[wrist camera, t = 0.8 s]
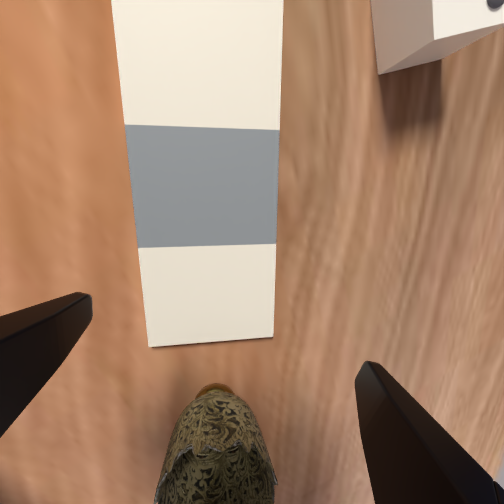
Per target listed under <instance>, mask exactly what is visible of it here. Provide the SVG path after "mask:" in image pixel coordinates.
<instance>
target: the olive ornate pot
mask: <svg viewBox="0 0 504 504" xmlns="http://www.w3.org/2000/svg"><path fill="white" fill-rule="evenodd" d="M275 485H278V483H277V479H276V476H275V473H274V469H273V466H272V463H271V460H270V457H269V454H268V451H267V448H266V445H265V442H264V439H263V436H262V433H261V431H260V428H259V425H258V423H257V420H256V418H255V416H254V414H253V412H252V411H251V409H250V408H249V406H248V405H247V404H246V403H245V402H244V401H243V400H242V399H240V398H239V397H237V396H236V395H235V394H234V393H233V391H232V390H231V389H230V388H229V387H228V386H226V385H223V384H210V385H208V386H206V387H204V388H203V389H202V390H201V391H200V392H199V393H198V394H197V396H196V398H195V400H194V401H192V402H191V403H190V404H189V405H188V406H187V407H186V408H185V409H184V411H183V412H182V414H181V415H180V417H179V419H178V421H177V423H176V425H175V428H174V430H173V433H172V436H171V439H170V442H169V446H168V449H167V453H166V456H165V460H164V464H163V467H162V471H161V475H160V479H159V482H158V486H157V488H156V490H157V491H156V494H155V499H154V504H156V503H157V502H158V504H274V486H275Z"/></svg>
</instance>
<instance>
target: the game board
mask: <svg viewBox="0 0 504 504" xmlns="http://www.w3.org/2000/svg"><path fill="white" fill-rule="evenodd" d="M111 2H112V11H113V21H114V30H115V39H116V48H117V58H118V67H119V76H120V85H121V95H122V104H123V113H124V123H125V132H126V141H127V150H128V160H129V169H130V178H131V188H132V197H133V206H134V215H135V225H136V234H137V243H138V252H139V262H140V271H141V280H142V290H143V299H144V308H145V317H146V327H147V336H148V345H149V347H155V346H167V345H179V344H191V343H203V342H215V341H227V340H240V339H252V338H264V337H273V330H274V297H275V264H276V230H277V197H278V164H279V130H280V97H281V64H282V30H283V0H111Z"/></svg>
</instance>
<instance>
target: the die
mask: <svg viewBox="0 0 504 504" xmlns="http://www.w3.org/2000/svg"><path fill="white" fill-rule="evenodd" d="M370 1H371V11H372V21H373V30H374V40H375V50H376V60H377V70H378V75H381V74H385V73H389V72H393V71H397V70H400V69H404V68H408V67H412V66H416V65H420V64H424V63H428V62H432V61H436V60H440V59H443V58H445V57H447V56H449V55H450V54H452V53H454V52H456V51H458V50H460V49H462V48H464V47H466V46H468V45H469V44H471V43H473V42H475V41H477V40H479V39H481V38H483V37H485V36H487V35H488V34H490V33H492V32H494V31H496V30H498V29H500V28H502V27H504V0H370Z"/></svg>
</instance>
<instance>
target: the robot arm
mask: <svg viewBox="0 0 504 504" xmlns="http://www.w3.org/2000/svg"><path fill="white" fill-rule="evenodd" d="M92 316H93V309H92V297H91V295H89V294H85V293H81V292H75V293H72V294H69V295H66V296H63V297H59V298H56V299H53V300H50V301H47V302H44V303H41V304H38V305H35V306H31V307H28V308H25V309H22V310H19V311H16V312H13V313H10V314H6V315H3V316H0V438H1V436H2V435H3V434H4V433H5V432H6V430H7V429H8V428H9V427H10V426H11V424H12V423H13V422H14V421H15V420H16V418H17V417H18V416H19V415H20V414H21V412H22V411H23V410H24V409H25V408H26V406H27V405H28V404H29V403H30V402H31V400H32V399H33V398H34V397H35V396H36V394H37V393H38V392H39V391H40V390H41V388H42V387H43V386H44V385H45V384H46V382H47V381H48V380H49V379H50V378H51V376H52V375H53V374H54V373H55V372H56V370H57V369H58V368H59V367H60V365H61V364H62V363H63V361H64V360H65V359H66V357H67V356H68V354H69V353H70V351H71V350H72V348H73V347H74V346H75V344H76V343H77V341H78V340H79V338H80V337H81V335H82V334H83V332H84V331H85V329H86V328H87V326H88V325H89V324H90V322H91V320H92ZM355 392H356V401H357V410H358V419H359V427H360V434H361V440H362V445H363V449H364V454H365V459H366V463H367V468H368V473H369V477H370V482H371V487H372V491H373V496H374V501H375V504H504V489H503V488H502V487H501V486H500V485H499V484H498V483H497V482H496V481H493V479H492V477H491V476H490V475H489V474H488V473H487V472H486V471H485V470H484V469H483V468H482V467H481V466H480V465H479V464H478V463H477V462H476V461H475V460H474V459H473V458H472V457H471V456H470V455H469V454H468V453H467V452H466V451H465V450H464V449H463V448H462V447H461V446H460V445H459V444H458V443H457V442H456V441H455V440H454V439H453V438H452V437H451V436H450V435H449V433H448V432H447V431H446V430H445V429H444V428H443V427H442V426H441V425H440V424H439V423H438V422H437V421H436V420H435V419H434V418H433V417H432V416H431V415H430V414H429V413H428V412H427V411H426V410H425V409H424V408H423V407H422V406H421V405H420V404H419V403H418V402H417V401H416V400H415V399H414V398H413V397H412V396H411V395H410V394H409V393H408V392H407V391H406V390H405V389H404V388H403V387H402V386H401V385H400V384H399V383H398V382H397V381H396V380H395V379H394V378H393V377H392V376H391V375H390V374H389V373H388V372H387V371H386V370H385V369H384V368H383V367H382V366H381V365H380V364H379V363H376V362H372V361H365V362H364V363H363V365H362V367H361V369H360V371H359V373H358V374H357V376H356V379H355Z"/></svg>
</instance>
